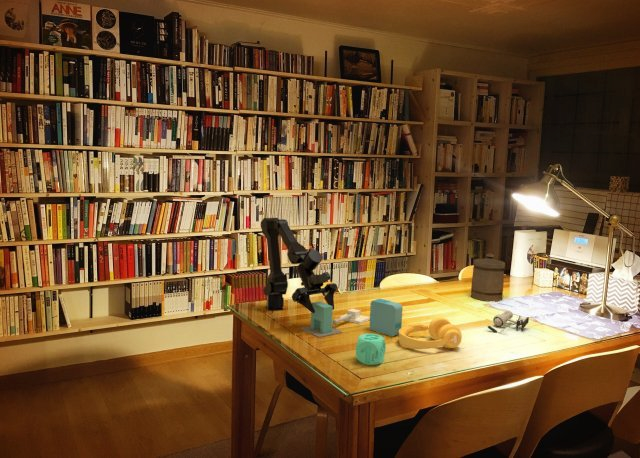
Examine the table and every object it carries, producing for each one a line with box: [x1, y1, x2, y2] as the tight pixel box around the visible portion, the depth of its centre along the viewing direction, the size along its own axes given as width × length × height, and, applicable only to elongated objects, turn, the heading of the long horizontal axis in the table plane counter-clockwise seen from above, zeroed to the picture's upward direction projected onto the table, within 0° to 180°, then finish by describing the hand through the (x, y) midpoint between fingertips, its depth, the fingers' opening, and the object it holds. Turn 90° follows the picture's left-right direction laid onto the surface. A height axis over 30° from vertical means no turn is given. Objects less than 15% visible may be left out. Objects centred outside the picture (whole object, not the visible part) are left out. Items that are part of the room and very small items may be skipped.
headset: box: [398, 316, 463, 350], centre depth 200 cm, size 18×21×9 cm
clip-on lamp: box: [485, 310, 530, 334], centre depth 222 cm, size 12×6×18 cm
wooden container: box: [470, 253, 506, 302], centre depth 270 cm, size 15×15×22 cm
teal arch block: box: [310, 300, 334, 334], centre depth 211 cm, size 8×4×10 cm, turn 37°
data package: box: [369, 298, 403, 337], centre depth 212 cm, size 12×4×12 cm, turn 47°
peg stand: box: [332, 308, 370, 325], centre depth 223 cm, size 10×19×4 cm, turn 145°
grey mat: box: [299, 325, 343, 338], centre depth 212 cm, size 12×11×1 cm
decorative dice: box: [355, 333, 387, 366], centre depth 182 cm, size 8×8×8 cm
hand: (323, 311), depth 209 cm, fingers open, 9 cm apart
